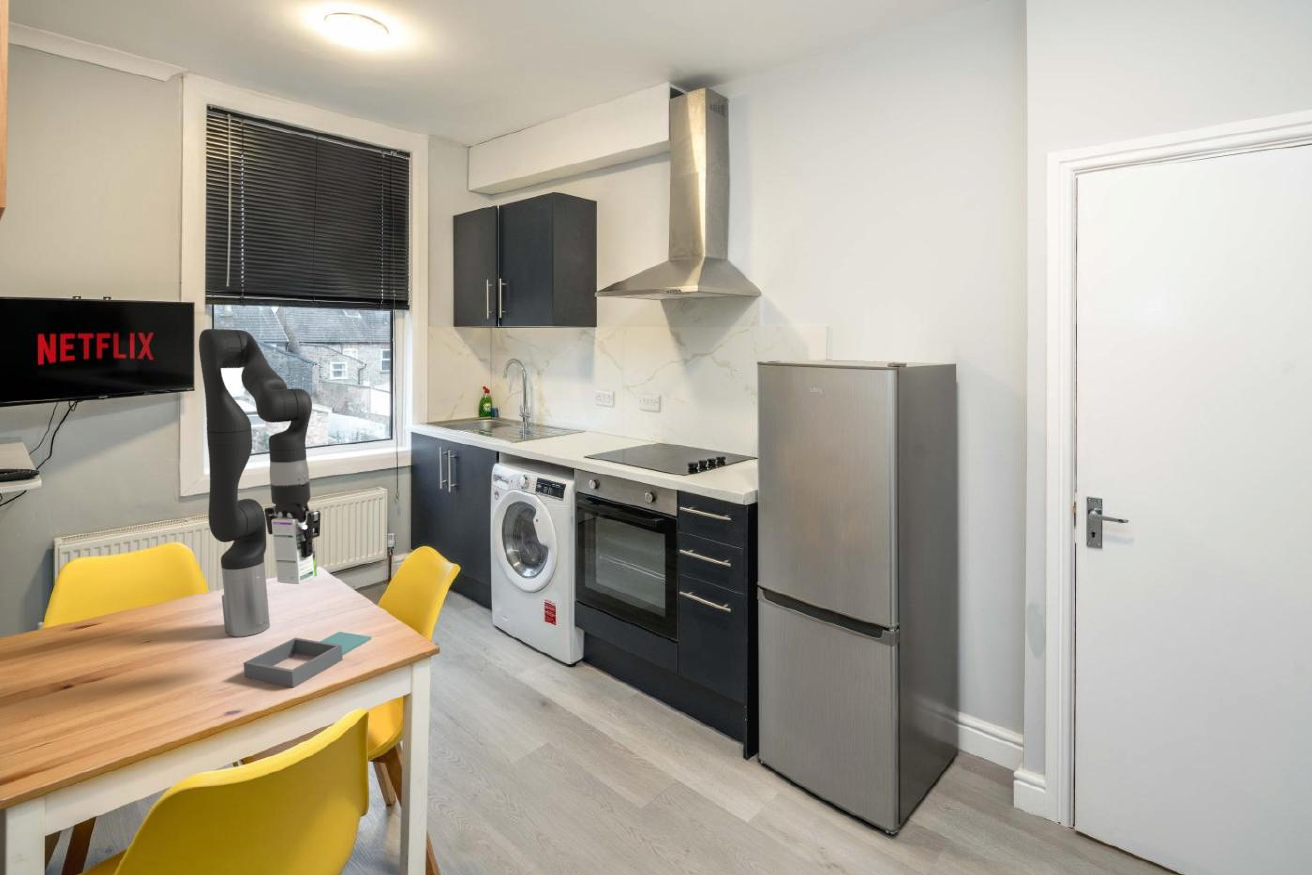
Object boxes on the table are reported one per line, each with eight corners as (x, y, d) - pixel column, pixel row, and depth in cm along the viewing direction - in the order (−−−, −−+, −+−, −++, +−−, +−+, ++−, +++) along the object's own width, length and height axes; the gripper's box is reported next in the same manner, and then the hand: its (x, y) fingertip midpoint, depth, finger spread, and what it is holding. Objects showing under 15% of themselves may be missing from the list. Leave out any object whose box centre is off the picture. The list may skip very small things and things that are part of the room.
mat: (306, 650, 161) (306, 648, 161) (339, 633, 170) (338, 631, 170) (340, 656, 158) (340, 654, 158) (371, 639, 167) (371, 636, 167)
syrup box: (299, 584, 149) (294, 519, 147) (275, 582, 150) (270, 518, 148) (317, 576, 154) (313, 513, 152) (294, 574, 155) (290, 512, 153)
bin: (244, 678, 148) (243, 662, 147) (296, 651, 160) (295, 637, 160) (293, 687, 143) (292, 671, 143) (342, 659, 156) (341, 645, 155)
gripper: (250, 481, 148) (256, 556, 150) (300, 486, 143) (306, 563, 145) (279, 475, 155) (285, 547, 157) (329, 479, 150) (333, 553, 152)
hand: (295, 554), depth 151 cm, fingers closed on syrup box, 6 cm apart
